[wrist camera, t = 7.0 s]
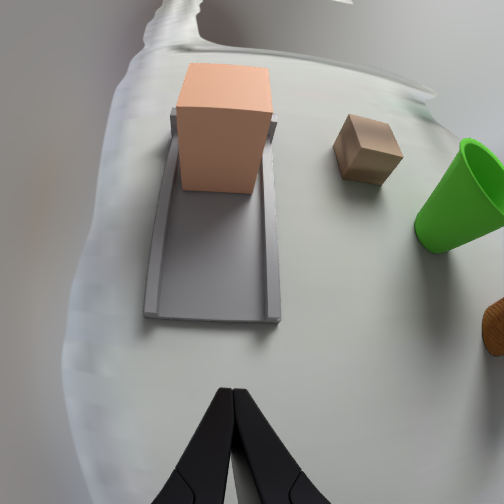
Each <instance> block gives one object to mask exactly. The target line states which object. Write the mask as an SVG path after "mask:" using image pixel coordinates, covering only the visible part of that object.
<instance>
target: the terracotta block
mask: <svg viewBox="0 0 504 504" xmlns="http://www.w3.org/2000/svg"><path fill="white" fill-rule="evenodd" d="M176 115H177V131H178V145H179V157H180V169H181V180H182V190H186V191H209V192H227V193H243V194H253V191H254V187H255V183H256V179H257V174H258V170H259V166H260V162H261V158H262V154H263V150H264V146H265V142H266V138H267V134H268V130H269V126H270V123H271V119H272V115H273V108H272V99H271V89H270V81H269V72H268V68H260V67H251V66H240V65H227V64H208V63H190V65H189V68H188V71H187V74H186V76H185V80H184V83H183V86H182V89H181V92H180V95H179V98H178V102H177V105H176Z"/></svg>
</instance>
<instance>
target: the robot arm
mask: <svg viewBox="0 0 504 504" xmlns="http://www.w3.org/2000/svg"><path fill="white" fill-rule="evenodd" d="M230 454H231V461H232V468H233V474H234V480H235V487H236V493H237V498H238V504H331V503H330V502H329V501H328V500H327V499H326V498H325V497H324V496H323V495H322V494H321V493H320V492H319V491H318V489H317V488H316V487H315V486H314V485H313V483H312V482H311V481H310V480H309V478H308V477H307V476H306V474H305V473H304V472H303V471H301V468H300V467H299V465H298V464H297V462H296V461H295V460H294V458H293V457H292V456H291V454H290V453H289V451H288V450H287V449H286V447H285V446H284V444H283V443H282V442H281V440H280V439H279V437H278V436H277V434H276V433H275V431H274V430H273V428H272V427H271V426H270V424H269V423H268V421H267V420H266V418H265V417H264V415H263V414H262V412H261V411H260V409H259V407H258V406H257V404H256V403H255V401H254V400H253V398H252V397H251V395H250V393H249V392H248V391H247V390H246V389H240V388H235V389H233V390H232V389H231V388H222V387H221V388H219V389H218V390H217V392H216V394H215V396H214V398H213V400H212V402H211V403H210V405H209V407H208V409H207V411H206V413H205V415H204V416H203V418H202V420H201V422H200V424H199V426H198V427H197V429H196V431H195V433H194V435H193V437H192V438H191V440H190V442H189V444H188V446H187V447H186V449H185V451H184V453H183V455H182V456H181V458H180V460H179V462H178V463H177V465H176V467H175V469H174V470H173V472H172V474H171V475H170V477H169V479H168V480H167V482H166V484H165V485H164V487H163V488H162V490H161V491H160V493H159V494H158V495H157V497H156V498H155V499H154V500H153V502H152V503H151V504H224V497H225V490H226V483H227V476H228V469H229V461H230Z"/></svg>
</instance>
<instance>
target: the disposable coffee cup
mask: <svg viewBox="0 0 504 504" xmlns="http://www.w3.org/2000/svg"><path fill="white" fill-rule="evenodd" d="M482 332H483V339H484V343H485V346H486V348H487V350H488V351H489V353H491V354H492V355H493V356H501V355H504V297H503V298H502V299H500V300H499V301H497V302H496V303H494V304H492V305H491V306H489V307H488V308H487V309H486V311H485V313H484V316H483V323H482Z"/></svg>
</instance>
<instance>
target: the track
mask: <svg viewBox="0 0 504 504" xmlns="http://www.w3.org/2000/svg"><path fill="white" fill-rule="evenodd" d="M170 121H171V133H172V139H171V144H170V148H169V152H168V156H167V161H166V165H165V170H164V174H163V179H162V184H161V189H160V194H159V199H158V205H157V210H156V216H155V222H154V228H153V234H152V241H151V248H150V255H149V262H148V270H147V278H146V287H145V297H144V307H143V316H144V317H148V318H161V319H176V320H194V321H217V322H261V323H279V322H280V321H281V299H280V276H279V256H278V237H277V220H276V203H275V188H274V174H273V160H272V147H271V143H272V139H273V136H274V132H275V128H276V125H277V116H276V114H273V115H272V119H271V123H270V126H269V130H268V134H267V138H266V142H265V146H264V150H263V154H262V158H261V162H260V166H259V170H258V174H257V179H256V183H255V187H254V191H253V194H243V193H227V192H209V191H186V190H182V180H181V169H180V157H179V145H178V131H177V115H176V108H172V110H171V114H170Z"/></svg>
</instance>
